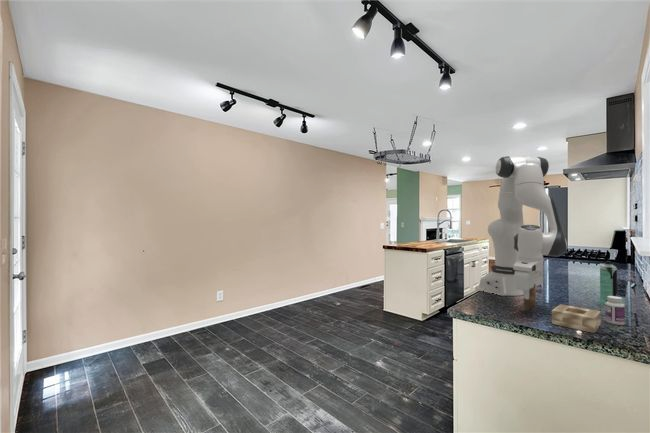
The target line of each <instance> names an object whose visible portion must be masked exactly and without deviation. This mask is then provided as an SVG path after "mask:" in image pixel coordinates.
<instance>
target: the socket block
mask: <svg viewBox="0 0 650 433" xmlns="http://www.w3.org/2000/svg"><path fill="white" fill-rule="evenodd" d="M601 312H602V311H600V310H595V309H590V308H584V307H578V306H574V305H573V306H572V305H568V304H562V303H560V304H559V305H558V306H556V307H554V308H553V309H551V325H557V326H560V327H561V326H562V327H566V328H570V329H574V330H579V331H582V332H583V331H584V332H589V333H592V334H595V333H596V332H597V330H598V329H599V328H600V327H601V324H602V319H601V318H602V315H601V314H602V313H601ZM599 326H600V327H599Z"/></svg>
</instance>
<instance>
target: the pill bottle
mask: <svg viewBox="0 0 650 433" xmlns="http://www.w3.org/2000/svg"><path fill="white" fill-rule="evenodd" d="M607 300H608V301H607V302H606V303H605V306H604V308H605V310H604V311H605V312H604V313H605V315H604V316H605V322H607V323H609V324H613V325H618V326H623V325H625V324H626V306H625V304H624V303H622V302H623V298H622V297H621V296H617V297H616V296H607Z"/></svg>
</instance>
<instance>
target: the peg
mask: <svg viewBox="0 0 650 433" xmlns="http://www.w3.org/2000/svg"><path fill="white" fill-rule="evenodd" d="M536 293H537V288H536V284H534V287H533V288H531V289H530V291H529V294H530V299H525V298H524V297H523V308H525V309H529V310H535V309H536Z"/></svg>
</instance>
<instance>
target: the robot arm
mask: <svg viewBox="0 0 650 433" xmlns="http://www.w3.org/2000/svg"><path fill="white" fill-rule="evenodd" d="M549 166H550V164H549V161H548V160H547V159H546V158H544V157H540V156H528V155H522V156H520V155H518V156H509V155H507V156H502V157H500V158H499V159H498V160H497V162H496V164H495V174H496V175H497V176H498V177H500V178H502V179H501V182H500V188H499V193H498V201H497V202H498V203H497V209H498V211H499V215H500V216H499V217H500V218H498V219H495V220H493V221H492V222H490V224H489V225H488V228H487V233H488V234H489V236H490V237H491V239H492V244H493V248H494V249H493V250H494V264H492V265H491V266H490V269H491V271H490V272H488V273H486V274H485V275H483V276H482V277H481V278H480V280H479V284H478V285H476V286H475V287H474V290H476V291H480V292H483V290H484V289H485V288H486V289H485V290H484V293H488V294H492V293H494V294H493V295H496V294H497V295H498V296H502V297H503V296H510V297H511V296H512V297H513V296H514V297H515V296H523V299H524V298H525V299H530V294H529V291H530V289H531V288H533V287H534V284H536V289H537V287H538V286H540V285H542V284H543V281H544V273H543V272H544V271H543V270H544V256H547V257H555V258H558V257H560V256H562V255H564V254H565V253H567V250H568V242H567V239H566V237H565V234H564V231H563V227H562V223H561V219H560V215H559V211H558V208H557V205H556V201H555V199H554V197H552V196H550V195H548V193H547V191H546V190H545V182H544V180H545V179H544V177H546V175H547V174H548V171H549V168H550V167H549ZM523 206H526V207H529V208H532V209H534V210H535V209H536V210H538V211H540V212H542V213H544V215H545V216H546V219H547V223H548V227H549V232H543V229H542V227H541V226H540V225H535V224H525V223H524V215H523V208H524V207H523ZM487 287H488V288H487Z"/></svg>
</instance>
